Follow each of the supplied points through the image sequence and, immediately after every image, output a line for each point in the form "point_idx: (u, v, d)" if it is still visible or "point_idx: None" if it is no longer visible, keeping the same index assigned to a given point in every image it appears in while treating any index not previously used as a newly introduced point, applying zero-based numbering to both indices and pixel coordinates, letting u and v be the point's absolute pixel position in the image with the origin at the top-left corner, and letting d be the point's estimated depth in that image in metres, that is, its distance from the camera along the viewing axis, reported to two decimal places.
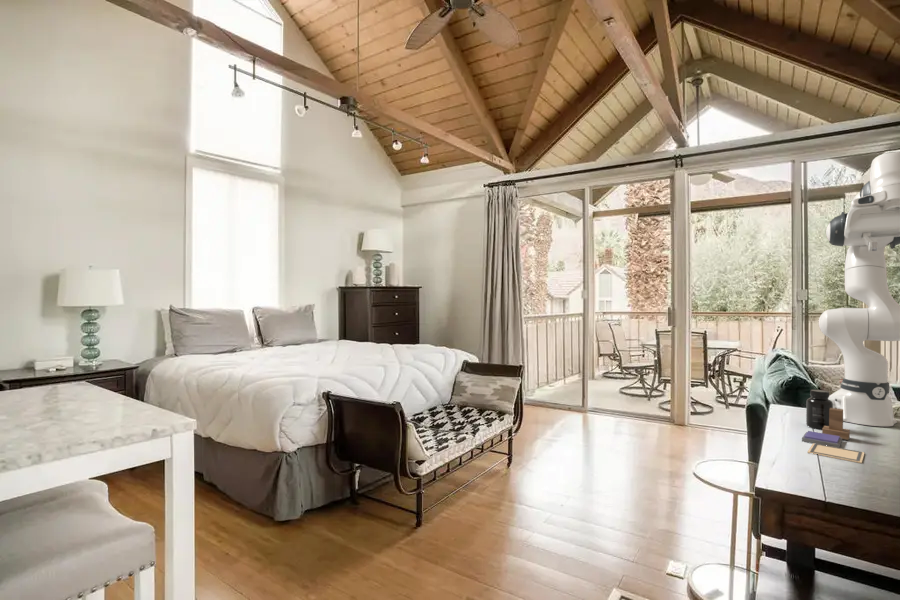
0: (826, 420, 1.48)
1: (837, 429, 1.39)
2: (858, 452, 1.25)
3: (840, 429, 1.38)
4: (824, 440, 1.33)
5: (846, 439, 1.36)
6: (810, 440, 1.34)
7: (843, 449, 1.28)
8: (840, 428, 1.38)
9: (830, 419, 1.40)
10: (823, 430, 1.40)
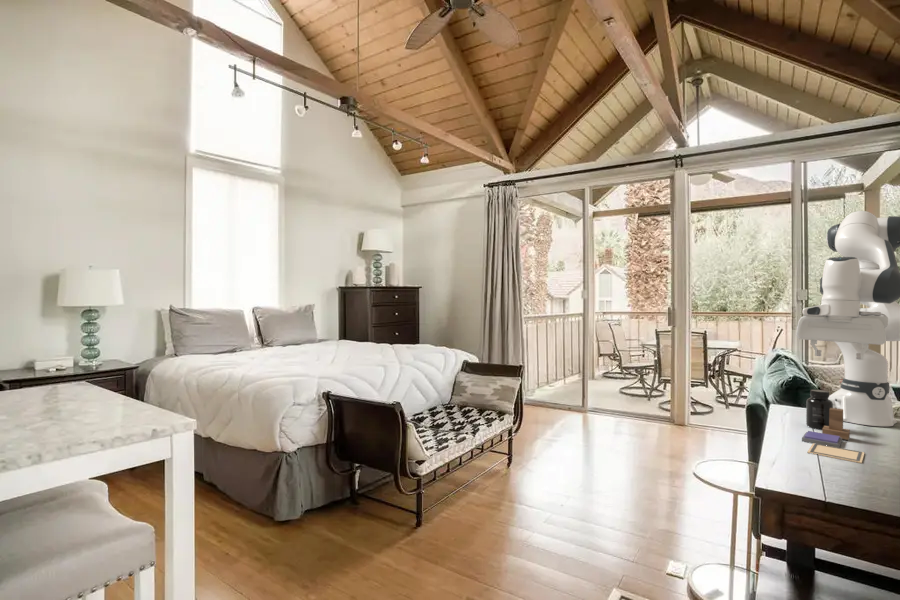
0: (826, 420, 1.48)
1: (837, 429, 1.39)
2: (858, 452, 1.25)
3: (840, 429, 1.38)
4: (824, 440, 1.33)
5: (846, 439, 1.36)
6: (810, 440, 1.34)
7: (843, 449, 1.28)
8: (840, 428, 1.38)
9: (830, 419, 1.40)
10: (823, 430, 1.40)
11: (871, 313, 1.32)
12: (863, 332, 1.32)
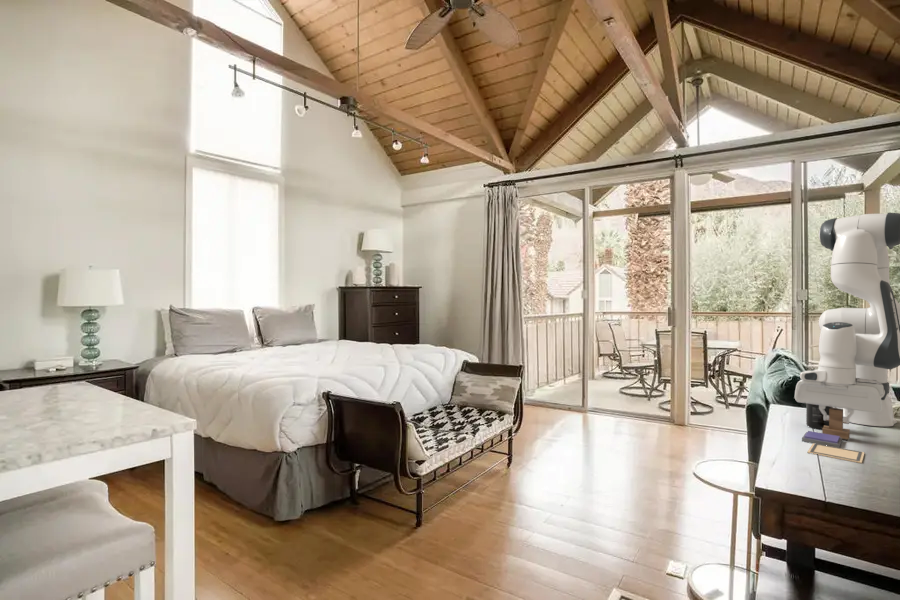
0: None
1: (837, 429, 1.39)
2: (858, 452, 1.25)
3: (840, 429, 1.38)
4: (824, 440, 1.33)
5: (846, 439, 1.36)
6: (810, 440, 1.34)
7: (843, 449, 1.28)
8: (840, 428, 1.38)
9: (830, 419, 1.40)
10: (823, 430, 1.40)
11: (867, 381, 1.35)
12: (859, 400, 1.35)
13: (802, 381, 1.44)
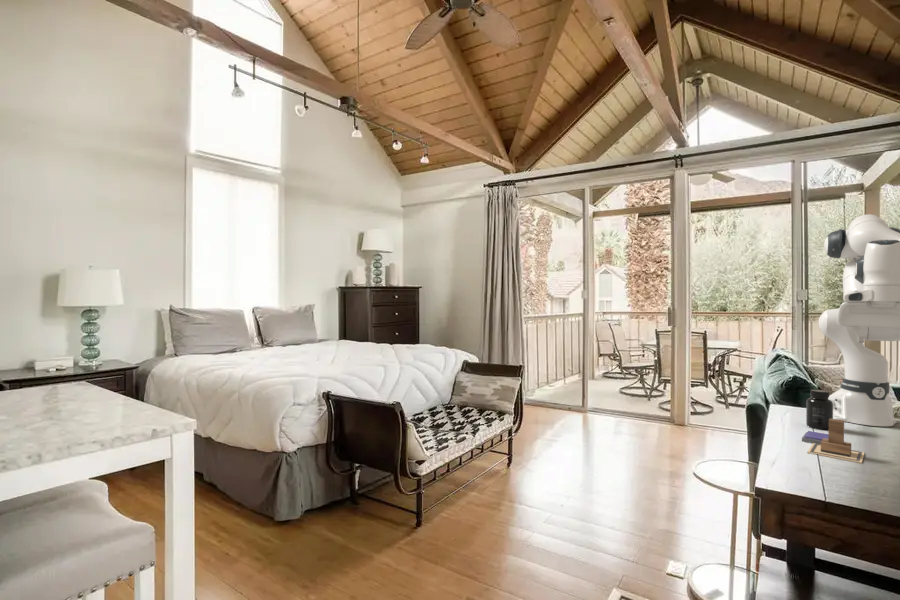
0: (826, 420, 1.48)
1: (837, 442, 1.24)
2: (858, 452, 1.25)
3: (841, 443, 1.24)
4: None
5: (847, 454, 1.22)
6: (810, 440, 1.34)
7: None
8: (841, 441, 1.24)
9: (829, 431, 1.25)
10: (822, 443, 1.26)
11: None
12: None
13: (846, 303, 1.37)
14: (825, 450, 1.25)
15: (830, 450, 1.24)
